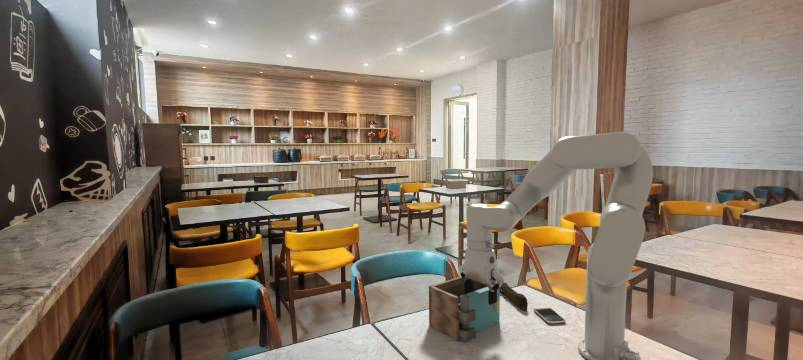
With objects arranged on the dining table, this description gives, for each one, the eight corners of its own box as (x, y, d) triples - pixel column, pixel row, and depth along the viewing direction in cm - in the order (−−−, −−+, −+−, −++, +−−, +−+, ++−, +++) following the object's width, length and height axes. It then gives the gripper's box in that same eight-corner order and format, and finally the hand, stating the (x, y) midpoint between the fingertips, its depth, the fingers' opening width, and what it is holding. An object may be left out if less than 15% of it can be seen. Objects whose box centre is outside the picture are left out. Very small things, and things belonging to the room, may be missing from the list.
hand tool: (497, 292, 151) (497, 280, 150) (507, 291, 151) (507, 280, 151) (518, 313, 132) (519, 300, 132) (530, 312, 132) (530, 299, 132)
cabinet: (507, 323, 124) (507, 284, 123) (461, 343, 112) (461, 300, 110) (473, 308, 135) (474, 272, 134) (429, 325, 123) (428, 286, 122)
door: (501, 323, 124) (502, 286, 123) (466, 338, 114) (466, 299, 113) (493, 319, 127) (493, 283, 126) (458, 334, 117) (458, 296, 116)
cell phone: (548, 326, 122) (548, 322, 122) (532, 311, 133) (532, 307, 133) (566, 325, 123) (567, 321, 123) (549, 310, 134) (549, 306, 134)
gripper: (510, 247, 113) (511, 303, 115) (467, 237, 127) (468, 288, 129) (493, 252, 109) (494, 310, 110) (450, 241, 123) (451, 293, 124)
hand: (480, 298), depth 119 cm, fingers open, 9 cm apart
